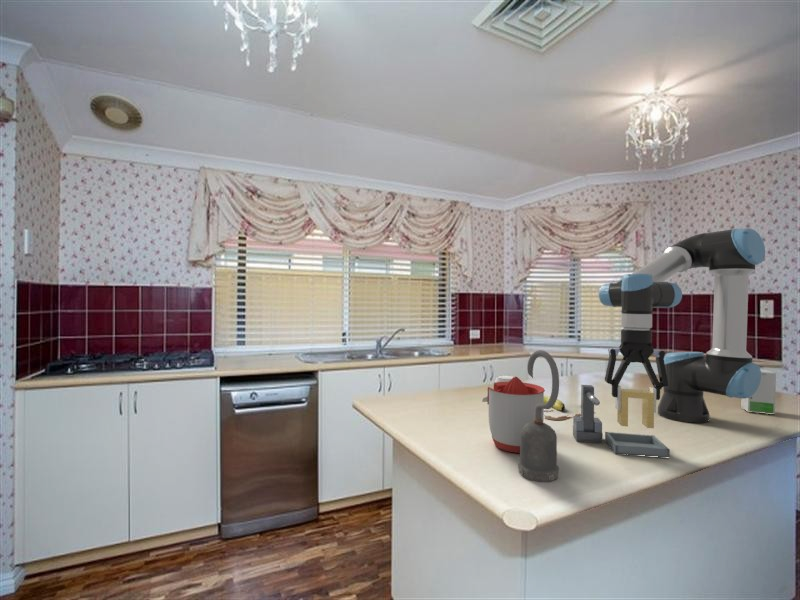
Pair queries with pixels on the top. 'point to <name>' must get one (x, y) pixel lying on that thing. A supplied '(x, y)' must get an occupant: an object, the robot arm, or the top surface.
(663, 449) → the tray
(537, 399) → the citrus juicer
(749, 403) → the skincare box
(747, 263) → the robot arm
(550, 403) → the hook
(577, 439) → the grey faucet post
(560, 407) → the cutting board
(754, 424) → the top surface
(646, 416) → the wooden arch block
